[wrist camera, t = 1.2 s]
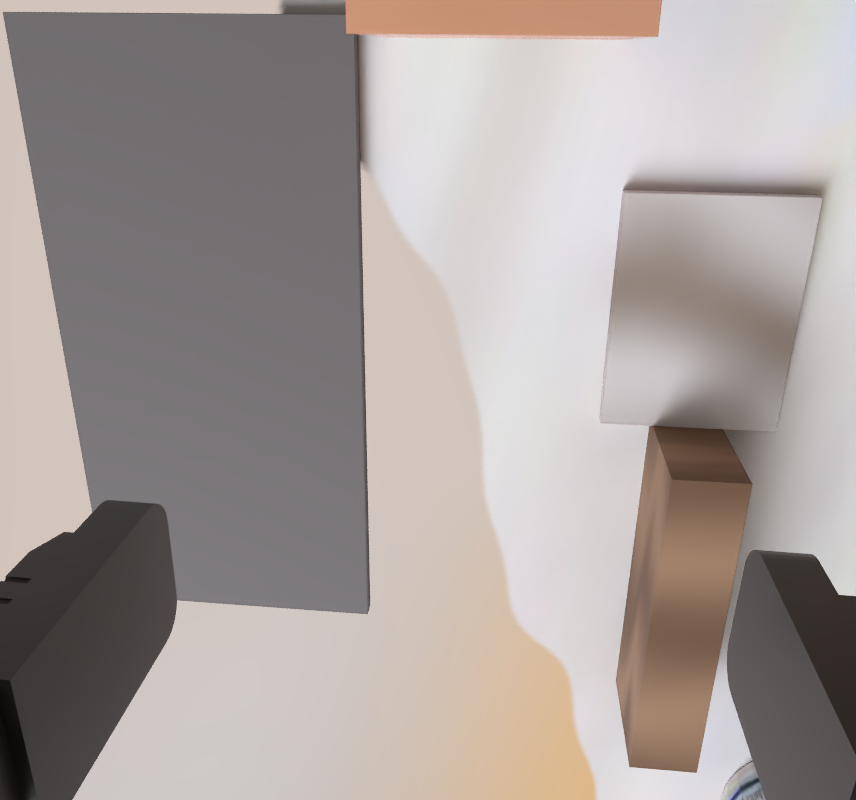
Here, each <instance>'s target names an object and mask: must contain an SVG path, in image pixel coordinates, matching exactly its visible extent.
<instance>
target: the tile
mask: <svg viewBox="0 0 856 800" xmlns="http://www.w3.org/2000/svg"><path fill="white" fill-rule="evenodd" d="M345 5H346V34H357V35H369V36H380V37H407V38H505V39H603V40H623V39H635V38H647V37H658V32H659V23H660V14H661V5H662V0H345Z"/></svg>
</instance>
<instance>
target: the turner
mask: <svg viewBox="0 0 856 800" xmlns="http://www.w3.org/2000/svg"><path fill="white" fill-rule="evenodd" d="M822 200H823V198H822V197H820V196H818V195H802V194H764V193H725V192H687V191H648V190H623V192H622V202H621V211H620V221H619V231H618V240H617V250H616V260H615V269H614V279H613V289H612V298H611V308H610V318H609V328H608V337H607V347H606V357H605V366H604V376H603V386H602V395H601V405H600V415H599V417H600V422H601V423H607V424H627V425H647V426H649V433H648V440H647V448H646V455H645V463H644V471H643V478H642V486H641V494H640V501H639V509H638V517H637V524H636V532H635V539H634V547H633V555H632V562H631V570H630V578H629V585H628V593H627V600H626V608H625V616H624V623H623V631H622V639H621V646H620V654H619V662H618V669H617V677H616V683H617V690H618V696H619V703H620V709H621V715H622V722H623V728H624V734H625V741H626V747H627V754H628V760H629V766H630V767H637V768H648V769H660V770H672V771H683V772H695V773H697V768H698V763H699V757H700V752H701V747H702V742H703V737H704V732H705V726H706V721H707V716H708V711H709V706H710V700H711V695H712V690H713V685H714V680H715V674H716V669H717V664H718V659H719V654H720V649H721V643H722V638H723V633H724V628H725V623H726V617H727V612H728V607H729V602H730V597H731V591H732V586H733V581H734V576H735V571H736V566H737V560H738V555H739V550H740V545H741V540H742V534H743V529H744V524H745V519H746V514H747V508H748V503H749V498H750V493H751V488H752V483H751V481H750V479H749V477H748V475H747V474H746V472H745V470H744V468H743V466H742V464H741V462H740V461H739V459H738V457H737V455H736V453H735V451H734V449H733V448H732V446H731V444H730V442H729V440H728V438H727V436H726V434H725V433H724V431H723V429H726V430H746V431H766V432H776V429H777V424H778V419H779V414H780V409H781V404H782V399H783V394H784V389H785V384H786V379H787V374H788V369H789V364H790V359H791V354H792V349H793V344H794V339H795V334H796V329H797V324H798V319H799V314H800V309H801V304H802V299H803V294H804V289H805V284H806V279H807V274H808V269H809V264H810V259H811V254H812V249H813V244H814V239H815V234H816V229H817V225H818V220H819V215H820V210H821V205H822Z"/></svg>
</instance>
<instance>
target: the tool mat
mask: <svg viewBox="0 0 856 800" xmlns="http://www.w3.org/2000/svg"><path fill="white" fill-rule="evenodd" d="M3 15H4V21H5V26H6V32H7V38H8V43H9V49H10V54H11V60H12V66H13V71H14V76H15V82H16V88H17V93H18V99H19V104H20V111H21V116H22V122H23V127H24V133H25V138H26V143H27V150H28V155H29V161H30V166H31V172H32V178H33V183H34V189H35V194H36V200H37V206H38V211H39V217H40V222H41V228H42V234H43V239H44V245H45V250H46V256H47V261H48V267H49V272H50V278H51V283H52V289H53V295H54V301H55V306H56V311H57V317H58V323H59V329H60V334H61V339H62V345H63V351H64V356H65V362H66V367H67V372H68V378H69V384H70V390H71V396H72V401H73V407H74V412H75V418H76V423H77V429H78V435H79V440H80V446H81V451H82V457H83V462H84V468H85V474H86V479H87V485H88V490H89V496H90V501H91V507H92V513H93V512H94V510H95V509H96V508H97V507H98V506H99V505H100V504H101V503H102V502H104V501H106V500H116V501H129V502H142V503H155V504H160V505H162V506H163V508H164V509H165V512H166V515H167V520H168V527H169V535H170V544H171V552H172V560H173V568H174V576H175V585H176V593H177V600H180V601H194V602H208V603H223V604H235V605H249V606H263V607H277V608H290V609H305V610H318V611H332V612H346V613H359V614H368V611H369V607H370V580H369V534H368V491H367V449H366V447H367V446H366V405H365V404H366V400H365V355H364V313H363V312H364V311H363V268H362V267H363V266H362V226H361V225H362V223H361V177H360V132H359V87H358V43H357V34H346V15H322V14H193V13H188V14H186V13H183V14H182V13H65V12H59V13H58V12H54V13H53V12H3Z"/></svg>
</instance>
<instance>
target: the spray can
mask: <svg viewBox="0 0 856 800" xmlns="http://www.w3.org/2000/svg"><path fill="white" fill-rule="evenodd" d="M721 800H766V799H765V796H764V793H763V790H762V787H761V784H760V781H759V778H758V775H757V772H756V769H755V766H754V763H753V761H752V762H750V763H749V764H747V765H746V766H744V767H743V768H742V769H740V770H739V771H737V772H736V773H735V774H734V775H733V777H732V778H731V779H730V780H729V781H728V783H727V784H726V786H725V789H724V791H723V794H722V796H721Z"/></svg>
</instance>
